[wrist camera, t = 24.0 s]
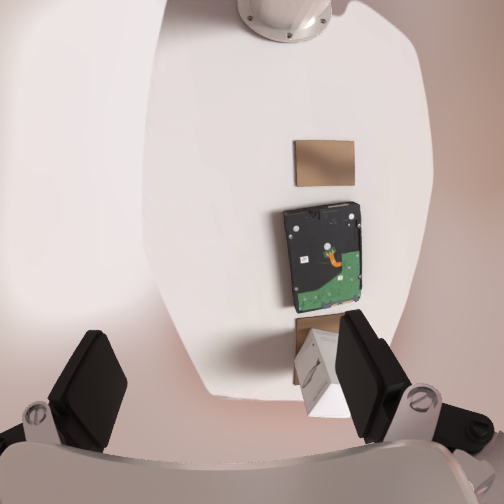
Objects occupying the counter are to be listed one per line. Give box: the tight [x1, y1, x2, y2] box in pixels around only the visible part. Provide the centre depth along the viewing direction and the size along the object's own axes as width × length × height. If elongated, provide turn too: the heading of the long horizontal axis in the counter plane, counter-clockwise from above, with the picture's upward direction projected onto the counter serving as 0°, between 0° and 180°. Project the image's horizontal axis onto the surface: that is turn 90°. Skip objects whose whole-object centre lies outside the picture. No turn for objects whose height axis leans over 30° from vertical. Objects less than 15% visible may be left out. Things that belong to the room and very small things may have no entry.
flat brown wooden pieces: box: [295, 141, 355, 385], centre depth 42 cm, size 41×8×1 cm, turn 3°
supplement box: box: [294, 328, 351, 418], centre depth 40 cm, size 7×7×13 cm
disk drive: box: [283, 202, 362, 314], centre depth 40 cm, size 10×3×15 cm
